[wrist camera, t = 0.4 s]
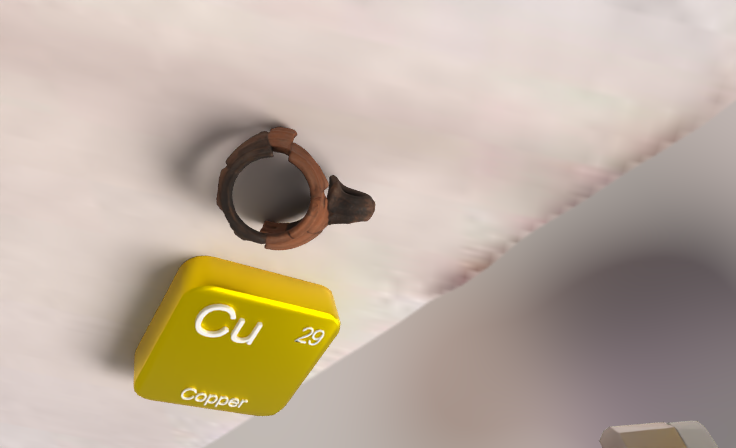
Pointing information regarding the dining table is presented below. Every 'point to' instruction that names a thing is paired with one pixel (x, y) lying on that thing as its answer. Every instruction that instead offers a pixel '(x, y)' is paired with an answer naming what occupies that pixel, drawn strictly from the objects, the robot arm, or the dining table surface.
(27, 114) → the dining table surface
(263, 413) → the element tile
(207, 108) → the dining table surface
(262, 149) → the pottery mug
